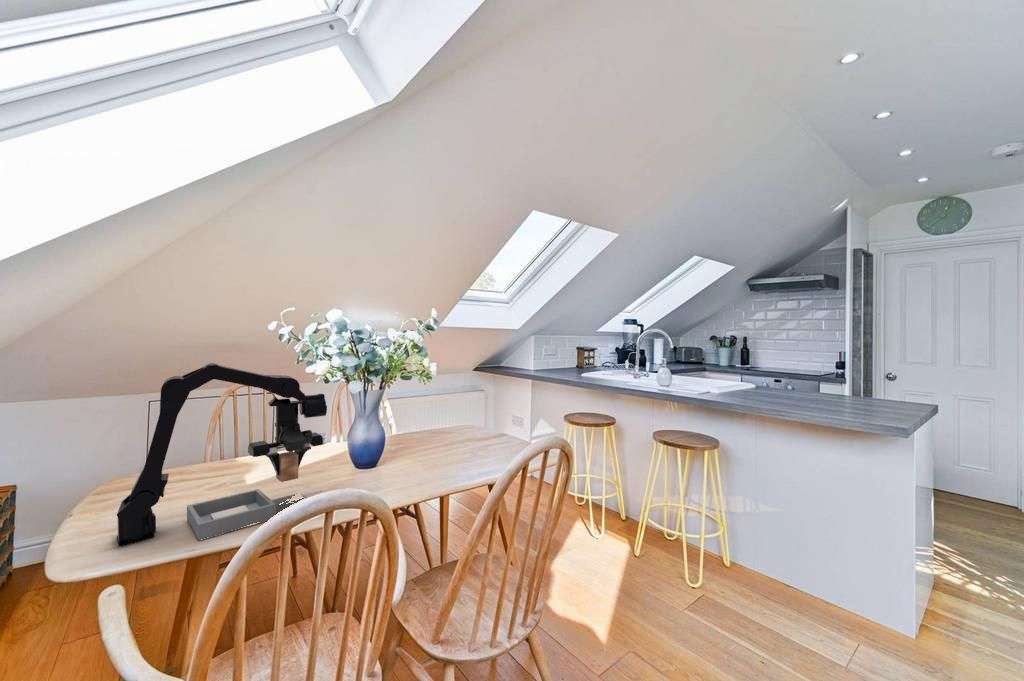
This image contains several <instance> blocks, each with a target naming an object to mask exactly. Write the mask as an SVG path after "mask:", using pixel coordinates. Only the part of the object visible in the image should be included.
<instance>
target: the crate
mask: <svg viewBox="0 0 1024 681" xmlns="http://www.w3.org/2000/svg"><path fill="white" fill-rule="evenodd" d="M271 500H272V499H270V497H268V496H267V495H266V494H265V493H264V492H263V491H262V490H261V489H259V488H256V489H252V490H248V491H243V492H239V493H235V494H230V495H225V496H222V497H218V498H214V499H210V500H205V501H201V502H196V503H193V504H188V505H186V519H187V523H188V522H189V523H188V525H189V524H190V525H189V526H190V528H191V530H192V533H195V534H194V536H195V537H196V539H197V538H198V539H197V541H198V540H200V541H202V540H201V539H204V538H207V537H211V536H214V537H216V536H215V535H218V536H220V535H219V534H221V535H223V534H222V533H225V534H227V533H226V532H228V533H230V532H229V531H231V530H235V529H238V528H241V527H244V526H247V525H250V524H253V523H257V522H260V524H263V523H266V521H267V520H269V519H270V518H271V517H273V516H274V515H276V504H275V503H274V502H272V501H271ZM276 516H277V515H276ZM267 522H268V521H267ZM235 531H236V530H235ZM211 538H212V537H211ZM207 539H208V538H207ZM204 540H205V539H204Z"/></svg>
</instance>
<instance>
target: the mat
mask: <svg viewBox="0 0 1024 681" xmlns="http://www.w3.org/2000/svg"><path fill="white" fill-rule="evenodd" d="M298 493H299V492H298ZM298 493H295V494H298ZM295 494H290V495H287V496H283V497H278V498H274V499H270V500H271V501H272V502H274V503H275V504H276V514H277V513H278V512H280V511H282V510H283V509H285V508H287V507H289V506H290V505H292V504H294V503H297V502H298V501H300V500H302V499H304V498H302V499H299V500H297V501H295V500H294V501H291V502H294V503H288V502H289V501H290V500H289V501H286V500H287V499H291V498H292V496H295ZM303 497H305V496H304V495H303ZM285 501H286V502H285ZM282 502H284V503H283V504H281V505H279V504H280V503H282ZM286 503H288V504H286Z"/></svg>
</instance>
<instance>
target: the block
mask: <svg viewBox="0 0 1024 681" xmlns="http://www.w3.org/2000/svg"><path fill="white" fill-rule="evenodd" d="M279 468H280V474H279V475H277V474H276V473H275V478H276V479H277V480H278V481H279V482H281V483H284V482H289V481H292V480H296V479H299V468H298V454H297V453H295V452H294V451H291V452H288V451H286V452H281V453H279Z"/></svg>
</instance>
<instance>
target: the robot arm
mask: <svg viewBox="0 0 1024 681" xmlns="http://www.w3.org/2000/svg"><path fill="white" fill-rule="evenodd" d="M213 380H218V381H222V382H227V383H232V384H237V385H243V386H247V387H253V388H258V389H262V390H264V391H266V392H270V393H271V394H275V395H277V396H280V397H282V398H278V397H276V396H273V398H272V399H270V401H268V403H267V405H269V407H275V422H274V427H275V437H274V441H275V442H269V443H268V442H266V441H265V440H261V441H254V442H250V443H249V444H248V447H247V453H248V454H249V455H251V457H253V458H257V457H262V456H265V457H266V458H268V460H269V461H270V463H271V465H272V467H273V469H274V471H275V475H276V474H277V475H279V474H280V468H279V454H280V453H279V452H278V449H285V450H286V452H291V451H293V452H295V453H297V454H298V469H299V467H300V465H301V463H302V460H303V458H304V456H305V454H306V452H308V451H309V450H311V449H312V447H317V446H322V445H324V436H323V435H321V434H320V433H317V432H313V431H312V430H311V429H308V430H301V425H300V423H299V414H300V416H303V417H304V418H305V419H309V418H318V417H326V416H327V411H328V405H327V401H326V398H325V397H326V396H325V394H324V393H316V394H307V395H306V394H305V393H304V392H303V391H302V390H301V388H300V387H301V385H300V383H299V381H298V380H297V379H296V378H294V377H292V376H289V375H279V374H278V375H277V374H262V373H257V372H252V371H248V370H243V369H240V368H239V369H238V368H234V367H228V366H224V365H220V364H218V363H215V362H210V363H207V364H205V365H203V366H202V367H199V368H197V369H195V370H193V371H190V372H188V373H186V374H184V375H182V376H181V375H174V376H170V377H168V378H166V379H165V380H164V381H163V384H162V386H161V388H160V399H159V415H158V418H157V421H156V426H155V428H154V433H153V436H152V438H151V442H150V446H149V449H148V453H147V456H146V460H145V464H144V466H143V467H142V470H141V472H140V473H139V475H138V477H137V478H136V480H135V482H134V483H133V484H134V485H133V486H132V488H131V491H130V493H129V495H127V496H126V497H125V498H124V499H123V500H122V501H121V502H120V505H119V508H118V510H117V513H116V516H117V518H116V519H117V536H116V541H117V542H116V543H117V546H121V547H124V546H123V545H125V546H128V544H129V545H132V544H131V543H133V544H136V543H140V542H142V541H143V540H144V541H146V540H147V539H148V540H150V539H154V538H155V533H156V532H157V518H156V513H154V511H153V507H154V506H155V505H157V503H159V500H160V497H161V498H164V496H165V491H166V490H165V489H166V486H167V484H168V481H169V475H170V473H163V468H164V463H165V460H166V456H167V454H168V450H169V447H170V442H171V439H172V436H173V432H174V430H175V429H174V428H175V426H176V422H177V418H178V416H179V414H180V412H181V411H182V408H183V407H184V405H185V403H186V400H187V399H188V397H189V395H190V393H191V392H192V391H195V390H197V389H198V388H200V387H201V386H203V385H205V384H207V383H209V382H211V381H213ZM291 398H293V399H294V400H291ZM310 445H311V446H312V447H311V446H310ZM139 541H140V542H139ZM135 542H136V543H135Z"/></svg>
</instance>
